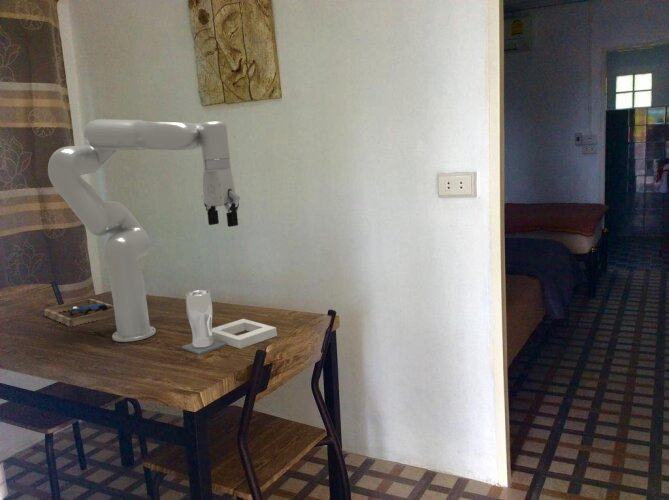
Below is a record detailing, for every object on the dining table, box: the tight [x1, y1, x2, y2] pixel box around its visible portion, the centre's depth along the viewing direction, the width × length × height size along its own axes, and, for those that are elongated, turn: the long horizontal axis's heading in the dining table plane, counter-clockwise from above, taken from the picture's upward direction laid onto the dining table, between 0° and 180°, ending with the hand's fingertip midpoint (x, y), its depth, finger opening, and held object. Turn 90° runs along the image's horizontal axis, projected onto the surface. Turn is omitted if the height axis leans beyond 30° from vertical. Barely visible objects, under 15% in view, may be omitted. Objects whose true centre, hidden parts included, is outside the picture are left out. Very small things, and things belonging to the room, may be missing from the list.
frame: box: [43, 297, 115, 328], centre depth 213 cm, size 24×17×2 cm
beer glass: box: [185, 289, 214, 348], centre depth 168 cm, size 7×7×15 cm
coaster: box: [181, 339, 228, 356], centre depth 169 cm, size 9×9×1 cm
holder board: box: [212, 318, 278, 350], centre depth 176 cm, size 16×13×2 cm
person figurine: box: [68, 304, 107, 316], centre depth 211 cm, size 11×4×18 cm
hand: (223, 225), depth 175 cm, fingers open, 9 cm apart
